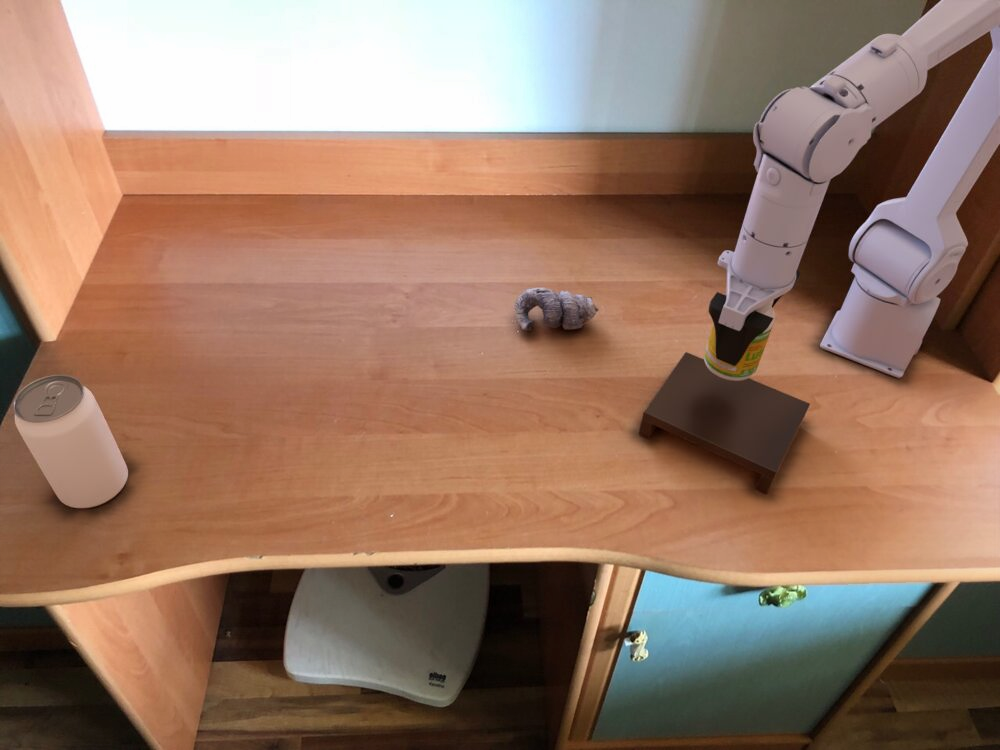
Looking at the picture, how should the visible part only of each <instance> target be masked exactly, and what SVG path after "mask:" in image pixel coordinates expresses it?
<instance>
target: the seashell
mask: <svg viewBox="0 0 1000 750" xmlns="http://www.w3.org/2000/svg"><path fill="white" fill-rule="evenodd" d="M536 307H538V308H539V309H541V313H542V315H543V318H542V321H543V324H544V325H545V326H546V327H548V328H552V329H557V328H558V327H560V326H562V327H563V329H564V330H565V331H566V330H567V331H568V330H577V329H581V328H582V327H583V325H585V324H587V323H588V322H590V321H591V320H592V319H593V318H594V317H595V315H596V314H597V312H599V310H600V309H599V308H598V307H597V306H596V305H595V303H594V301H593V298H592V296H587V297H586V296H585V295H584V294H583V293H579V294H575V295H574V294H573V293H572V292H571V291H568V290H564V289H563V290H561V291H558V292H556V291H554V290H553V289H551V288H548V287H542V286H541V287H540V286H539V287H534V288H532V287H530V288H527V289H525V290H524V291H523V292H522V293H521V294H520V295H519V296H518V297H517V299H516V301H515V302H514V310H515V317H516V321H517V323H518V324H519V326H520V329H521V331H529V332H530V331H532V328H533V326H534V325H535V322H534V320H532V319H531V318H530V317H529V313H530V312H531V311H532V310H533V309H534V308H536Z"/></svg>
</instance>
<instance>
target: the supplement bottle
mask: <svg viewBox="0 0 1000 750" xmlns="http://www.w3.org/2000/svg"><path fill="white" fill-rule="evenodd" d="M773 301H774V300H772V301H771V302H769V303H767V304H765V305H763V306H762V307H760V308H758V309H756V311H757V312H759V313H762V314H764V315H767V316H769V317H772V318H774V319H773V320H772V322H771V324H770V325H769V327H768V328H767V329H766V330H765V331H764V332H763V333H762V334H760V335H759V336H757V337H756V338H755V339H754V340H753V341H752V342H751V343H750V345H749V347H748V348H747V350H746V352H745V353H744V355H743V357H742V358H741V360H740V361H739V362H738V364H737V365H736V366H733V365H730V364H728V363H726V362H723V361H721V360H719V359H717V358H716V334H715V327H714V323H713V325H712V328H711V331H710V334H709V336H708V341H707V344H706V348H705V350H704V354H703V359H704V361H705V364H706V366H707V367H708V369H709V370H710V371H711V372H712V373H714V374H715V375H717V376H719V377H721V378H724V379H727V380H733V381H740V380H745V379H748V378H750V379H751V378H752V376H754V375H755V373H756V372H757V370H758V367H759V365H760V362H761V359H762V357H763V354H764V352H765V349H766V347H767V344H768V341H769V338H770V335H771V333H772V329H773V326H774V323H775V320H776V313H775V309H774V307H773V308H772V304H773Z"/></svg>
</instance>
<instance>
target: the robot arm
mask: <svg viewBox="0 0 1000 750" xmlns="http://www.w3.org/2000/svg"><path fill="white" fill-rule="evenodd" d="M987 33H990V39H991V43H992V49H991V51H990V53H989V55H988V56H987V57H986V60H985V61H984V63H983V65H982V67H981V68H980V70H979V72H978V73H977V75H976V77H975V78H974V79H973V82H972V84H971V85H970V87H969V89H968V90H967V92H966V94H965V96H964V97H963V99H962V101H961V103H960V104H959V106H958V108H957V109H956V111H955V113H954V115H953V116H952V118H951V119H950V121H949V123H948V124H947V126H946V129H945V130H944V132H943V133H942V135H941V137H940V139H939V140H938V142H937V144H936V146H935V147H934V149H933V151H932V152H931V154H930V155H929V157H928V159H927V161H926V163H925V165H924V166H923V168H922V170H921V171H920V173H919V175H918V177H917V178H916V180H915V181H914V184H913V185H912V187H911V188H910V190H909V192H908V193H907V195H906V196H904V197H897V198H892V199H888V200H885V201H883V202H881V203H879V204H877V205H876V207H875V208H874V209H873V211H872V212H871V214H870V215H869V217H868V218H867V219H866V220H865V222H863V223H862V224H861V225H860V226H859V228H858V229H857V230H856V231H855V233H854V235H853V237H852V238H851V240H850V242H849V245H848V259H849V260H850V261H851V262H852V263H853V265H852V268H851V270H850V272H851V273H852V274H854V278H853V280H852V283H851V285H850V287H849V290H848V292H847V294H846V296H845V298H844V301H843V303H842V306H841V307H840V310H837V311H836V312H835V315H834V317H833V319H832V320H831V323H830V324H829V326H828V329H827V330H826V332H825V333H824V336H823V338H822V340H821V342H820V344H819V347H820V349H823V350H825V351H828V352H831V353H833V354H836V355H837V356H838V355H839V356H840V357H842V358H843V357H844V358H846V359H848V360H851V361H854V362H856V363H859V364H861V365H864V366H866V367H869V368H871V369H874V370H877V371H879V372H881V373H883V374H886V375H890V376H892V377H895V378H897V379H901V378H902V377H903V376H904V374H905V371H906V370H907V368H908V366H909V364H910V362H911V360H912V359H913V356H914V355H917V354H918V352H919V350H920V348H921V345H922V344H923V339H924V337H925V335H926V334H927V331H928V329H929V327H930V325H931V323H932V322H933V319H934V317H935V315H936V313H937V310H938V309H939V306H940V303H941V298H939V297H938V295H940V294H941V293H942V292H943V291H944V290H945V289H946V288H947V287H948V286H949V284H950V283H951V282H952V280H953V278H954V277H955V275H956V273H957V271H958V266H959V263H960V261H961V260H962V257H963V256H964V254H965V252H966V250H967V248H968V245H969V242H968V239H967V236H966V234H965V232H964V230H963V228H962V226H961V223H960V221H959V219H958V217H957V212H958V211H959V208H960V207H961V206H962V204H963V202H964V201H965V199H966V197H967V196H968V195H969V193H970V192H971V189H972V188H973V186H974V185H975V183H976V182H977V180H978V179H979V177H980V175H981V174H982V172H983V171H984V169H985V168H986V166H987V164H988V163H989V162H990V159H992V156H993V155H994V153H995V151H997V148H998V147H999V145H1000V0H940V1H938V2H937V3H936V4H935V5H934V6H933V7H932V8H931V9H929V10H928V11H927V12H926V13H925V14H924V15H923V16H921V17H920V18H919V19H918V20H917V21H916V22H915V23H914V24H912V26H910V27H909V28H908V29H907V30H906V31H905V32H904V33H902V34H901V35H899V34H897V33H896V34H895V33H883V34H880V35H878V36H876V37H875V38H873V39H872V40H871V41H870V42H868V43H867V44H866V45H864V46H863V47H862V48H860V49H859V50H858V51H856V52H855V53H854V54H853V55H851V56H849V57H848V58H847V59H846V60H844V61H843V62H841V63H840V64H839V65H838V66H836V67H835V68H834V69H832V70H830V71H829V72H828V73H827V74H825V76H823V77H821V78H820V79H819V80H817V81H816V82H814V83H813V84H812V85H811V86H809V87H807V86H804V85H803V86H801V87H800V86H796V87H794V88H788V89H785V90H783V91H782V92H779V94H777V95H776V96H775V97H774V98H772V100H771V101H770V102H769V103H768V105H766V107H765V109H764V110H763V112H762V114H761V117H760V119H759V121H758V122H756V123H755V124H754V127H753V133H752V136H753V137H752V138H753V144H754V146H755V149H756V155H755V158H754V162H753V166H754V169H755V171H756V173H757V175H756V178H755V181H754V184H753V188H752V190H751V194H750V198H749V202H748V204H747V208H746V212H745V214H744V219H743V222H742V224H741V229H740V232H739V234H738V235H739V236H738V239H737V242H736V245H735V249H734V251H732V250H724V251H723V252H722V253H721V254H720V255H719V257H718V261H717V265H718V266H719V267H721V268H723V269H725V270H726V293H725V294H724V293H722V292H718V291H717V292H716V293H714V295H713V297H712V298H711V300H710V302H709V305H708V314H709V315H710V317H711V320H712V323H713V324H714V327H715V334H716V358H717V359H719V360H721V361H723V362H726V363H728V364H730V365H733V366H736V365H737V364H738V362H739V361H740V360H741V358H742V357H743V355H744V353H745V352H746V350H747V348H748V347H749V345H750V343H751V342H752V341H753V340H754V339H755V338H756V337H757V336H759V335H760V334H762V333H763V332H764V331H765V330H766V329H767V328H768V327H769V325H770V324H771V322H772V320H773V319H774V318H772V317H769V316H767V315H764V314H762V313H759V312H757V311H756V309H758V308H760V307H762V306H763V305H765V304H767V303H769V302H771V301H772V300H774V301H773V304H772V308H773V309H774V307H775V305H776V304H777V303H778V302H779V300H780V299H781V298H782V297H783V296H784V295H785V294H787V293H789V292H790V291H791V290H792V289H793V287H795V285H796V284H797V282H798V280H799V279H800V276H801V272H800V270H799V269H798V268H799V265H800V263H801V260H802V257H803V255H804V252H805V249H806V247H807V243H808V241H809V239H810V236H811V233H812V230H813V228H814V225H815V222H816V220H817V217H818V214H819V211H820V209H821V207H822V203H823V201H824V198H825V195H826V193H827V190H828V187H829V185H830V182H831V179H833V178H834V177H837V176H838V175H840V174H842V173H843V171H844V170H845V169H846V168H848V166H849V165H850V164H851V163H852V162H853V160H854V158H855V157H856V156H857V154H858V153H859V150H861V148H863V146H864V145H866V144H867V143H868V141H869V139H871V137H872V130H873V129H875V128H876V127H877V126H879V125H880V124H881V123H882V122H884V121H885V120H886V119H888V118H889V117H891V116H892V115H893V114H895V113H896V112H897V111H898V110H900V109H901V108H902V107H904V106H905V105H906V104H908V103H909V102H910V101H912V100H913V99H915V98H916V97H918V95H920V94H921V93H922V91H923V90H924V88H925V86H926V83H927V78H928V71H929V70H931V69H932V68H934V67H936V66H937V65H939V64H941V62H943V61H945V60H946V59H947V58H949V57H951V56H952V55H954V54H956V53H957V52H959V51H961V50H962V49H963V48H965V47H967V46H968V45H970V44H971V43H973V42H975V41H976V40H978V39H980V37H982V36H984V35H986V34H987Z"/></svg>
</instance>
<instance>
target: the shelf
mask: <svg viewBox="0 0 1000 750" xmlns="http://www.w3.org/2000/svg"><path fill="white" fill-rule="evenodd" d="M810 405H811V403H809V402H807V401H805V400H802V399H799V398H797V397H795V396H793V395H791V394H788V393H785V392H784V391H781V390H778V389H776V388H773V387H772V386H768V385H766V384H765V383H764V384H763V383H761V382H759V381H757V380H755V379H752V378H751V377H750V378H748V379H745V380H740V381H733V380H727V379H724V378H721V377H719V376H717V375H715V374H714V373H712V372H711V371H710V370H709V369H708V367H707V366H706V364H705V361H704V358H703V357H699V356H697V355H695V354H693V353H689V352H688V351H685V352H684V353H683V355H682V357H681V358H680V360H678V362H677V363H676V365H675V367H674V368H673V369H672V371H671V372H670V373H669V375H668V376H667V378H666V379H665V380H664V382H663V383H662V385H661V386H660V388H659V389H658V390H657V392H656V393H655V395H654V397H653V398H652V400H651V401H650V402H649V403H648V405H647V407H646V408H645V410H644V411H643V413H642V417H641V421H640V426H639V428H638V429H639V430H638V435H639V436H641V437H643V438H645V439H650V438H651V436H652V435H653V433H654V432H655V430H656V429H657V427H658V428H660V429H662V430H664V431H666V432H668V433H670V434H673V435H674V436H676V437H679V438H681V439H683V440H685V441H687V442H690V443H692V444H694V445H697V446H698V447H701V448H703V449H705V450H707V451H710V452H712V453H713V454H716V455H718V456H721V457H722V458H725V459H727V460H729V461H731V462H733V463H735V464H737V465H739V466H741V467H744V468H746V469H749V470H750V471H753V472H755V473H756V474H760V477H759V479H758V480H757V484H756V486H755V490H756V491H759V492H761V493H763V494H765V495H767V494H768V493H769V490H770V488H771V487H772V484H773V482H774V480H775V478H776V476H777V474H778V472H779V471H780V468H781V466H782V464H783V463H784V460H785V458H786V456H787V454H788V452H789V450H790V448H791V446H792V444H793V442H794V441H795V439H796V436H797V434H798V431H799V430H800V427H801V425H802V423H803V421H804V419H805V416H806V414H807V412H808V410H809V408H810Z"/></svg>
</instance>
